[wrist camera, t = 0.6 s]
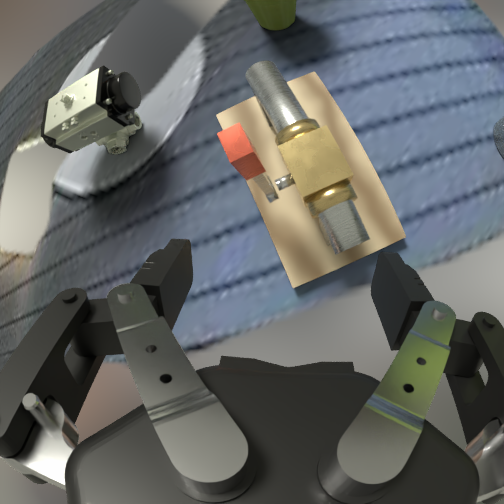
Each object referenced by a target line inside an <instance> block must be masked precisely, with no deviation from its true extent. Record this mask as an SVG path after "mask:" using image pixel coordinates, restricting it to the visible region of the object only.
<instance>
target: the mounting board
mask: <svg viewBox="0 0 504 504" xmlns="http://www.w3.org/2000/svg"><path fill="white" fill-rule="evenodd" d="M287 84H288V85H289V87H290V88H291V90H292V91H293V93H294V95H295V96H296V98H297V100H298V101H299V103H300V104H301V106H302V108H303V109H304V111H305V113H306V114H307V116H308V118H311V119H315V120H316V121H317V122H318V124H319V125H320V127H323V126H325V125H327V127H328V129H329V130H330V132H331V134H332V136H333V137H334V139H335V141H336V143H337V145H338V146H339V148H340V150H341V152H342V154H343V155H344V157H345V159H346V161H347V163H348V165H349V167H350V169H351V171H352V172H353V174H354V175H353V178H352V180H351V185H352V187H353V189H354V191H355V193H356V195H357V197H358V198H357V199H356V200H355V201H354V204H355V207H356V209H357V211H358V213H359V215H360V217H361V219H362V222H363V224H364V226H365V228H366V231H367V233H368V235H369V237H370V239H369V240H367V241H365V242H363V243H361V244H358V245H356V246H354V247H352V248H350V249H347V250H345V251H343V252H341V253H338V254H336V255H335V253H334V251H333V248H332V246H331V245H329V246H327V244H326V241H325V239H324V237H323V235H322V232H321V230H320V228H319V218H316V219H312V217H311V214H310V212H309V210H308V208H307V207H306V208H305V206H304V204H303V202H302V199H301V197H300V195H299V193H298V191H297V189H296V187H295V185H292V186H290V187H287V188H285V189H283V190H281V191H279V189H278V187H277V185H276V183H275V181H274V180H276V179H278V178H281V177H283V176H285V175H287V174H289V172H288V170H287V168H286V166H285V164H284V162H283V159H282V157H281V154H280V151H279V149H278V147H277V145H276V143H275V137H276V135H277V132H276V131H275V129H274V127H273V126H271V127H270V126H269V124H268V123H267V121H266V119H265V117H264V115H263V113H262V111H261V109H260V106H259V104H258V102H257V99H256V97H255V96H254V97H252V98H250V99H248V100H246V101H243V102H241V103H239V104H237V105H235V106H233V107H231V108H229V109H227V110H225V111H223V112H221V113H219V114H217V115H216V116H217V118H218V120H219V122H220V125H221V127H222V129H223V130H225V129H227V128H229V127H231V126H233V125H235V124H237V123H239V122H240V124H241V126H242V127H243V129H244V131H245V132H246V134H247V136H248V137H249V139H250V140H251V142H252V144H253V145H254V147H255V149H256V151H257V153H258V156H259V158H260V160H261V162H262V164H263V166H264V168H265V170H266V172H265V173H266V175H267V176H269V177H270V179H271V181H272V183H273V185H274V187H275V190H276V192H277V194H278V196H279V199H278V200H276V201H273V202H271V203H270V202H269V201H268V199H267V197H266V195H265V193H264V192H263V191H262V190H261V188H260V187H259V186H258V185H257V184H256V182H255V181H254V180H253V179H252V178H251V179H249V180H246V181H247V184H248V186H249V188H250V190H251V193H252V195H253V197H254V199H255V202H256V204H257V206H258V208H259V211H260V213H261V215H262V217H263V220H264V222H265V224H266V227H267V229H268V231H269V233H270V236H271V238H272V240H273V243H274V245H275V247H276V249H277V252H278V254H279V256H280V259H281V261H282V263H283V266H284V268H285V270H286V273H287V275H288V277H289V280H290V282H291V284H292V287H293V288H295V287H297V286H300V285H302V284H304V283H307V282H309V281H311V280H314V279H316V278H318V277H320V276H323V275H325V274H327V273H330V272H332V271H334V270H336V269H339V268H341V267H343V266H345V265H347V264H350V263H352V262H354V261H356V260H358V259H361V258H363V257H365V256H367V255H369V254H371V253H374V252H376V251H378V250H380V249H382V248H384V247H386V246H388V245H390V244H393V243H395V242H397V241H399V240H401V239H403V238H405V237H406V235H405V233H404V230H403V228H402V226H401V224H400V221H399V219H398V217H397V215H396V212H395V210H394V208H393V206H392V204H391V202H390V199H389V197H388V195H387V193H386V191H385V189H384V187H383V185H382V183H381V181H380V179H379V177H378V175H377V173H376V171H375V169H374V168H373V166H372V164H371V162H370V160H369V158H368V156H367V154H366V153H365V151H364V149H363V147H362V145H361V144H360V142H359V140H358V138H357V137H356V135H355V133H354V132H353V130H352V128H351V127H350V125H349V123H348V122H347V120H346V118H345V117H344V115H343V113H342V112H341V110H340V109H339V107H338V105H337V104H336V102H335V101H334V99H333V98H332V96H331V95H330V93H329V92H328V90H327V89H326V87H325V86H324V84H323V83H322V81H321V80H320V78H319V77H318V76H317V74H316V73H315V72H312V73H309V74H307V75H304V76H301V77H299V78H296V79H294V80H291V81H289V82H287Z"/></svg>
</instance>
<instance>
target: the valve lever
mask: <svg viewBox="0 0 504 504" xmlns="http://www.w3.org/2000/svg"><path fill="white" fill-rule="evenodd" d="M217 134H218V137H219V139H220V141H221V143H222V145H223V148H224V150H225V152H226V154H227V157H228V159H229V161H230V163H231V164H232V165H233V166H234V167H235V168H236V169H237V171H238V172H239V173H240V174H241V175H242V176H243V177H244V178H245V179H246V180H249V179H251V178H252V179H253V180H254V181H255V182H256V184H257V185H258V186H259V187H260V188H261V190H262V191H263V192H264V193H265V195H266V197H267V199H268V201H269V202H270V203H271V202H273V201H276V200H278V199H279V196H278V194H277V192H276V190H275V187H274V185H273V183H272V181H271V179H270V177H269V176H267V175H266V173H265V172H266V170H265V168H264V166H263V164H262V162H261V160H260V158H259V156H258V153H257V151H256V149H255V147H254V145H253V144H252V142H251V140H250V139H249V137H248V136H247V134H246V132H245V131H244V129H243V127H242V126H241V124H240V122H239V123H237V124H235V125H233V126H231V127H229V128H227V129H225V130H223V131H221V132H219V133H217Z"/></svg>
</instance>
